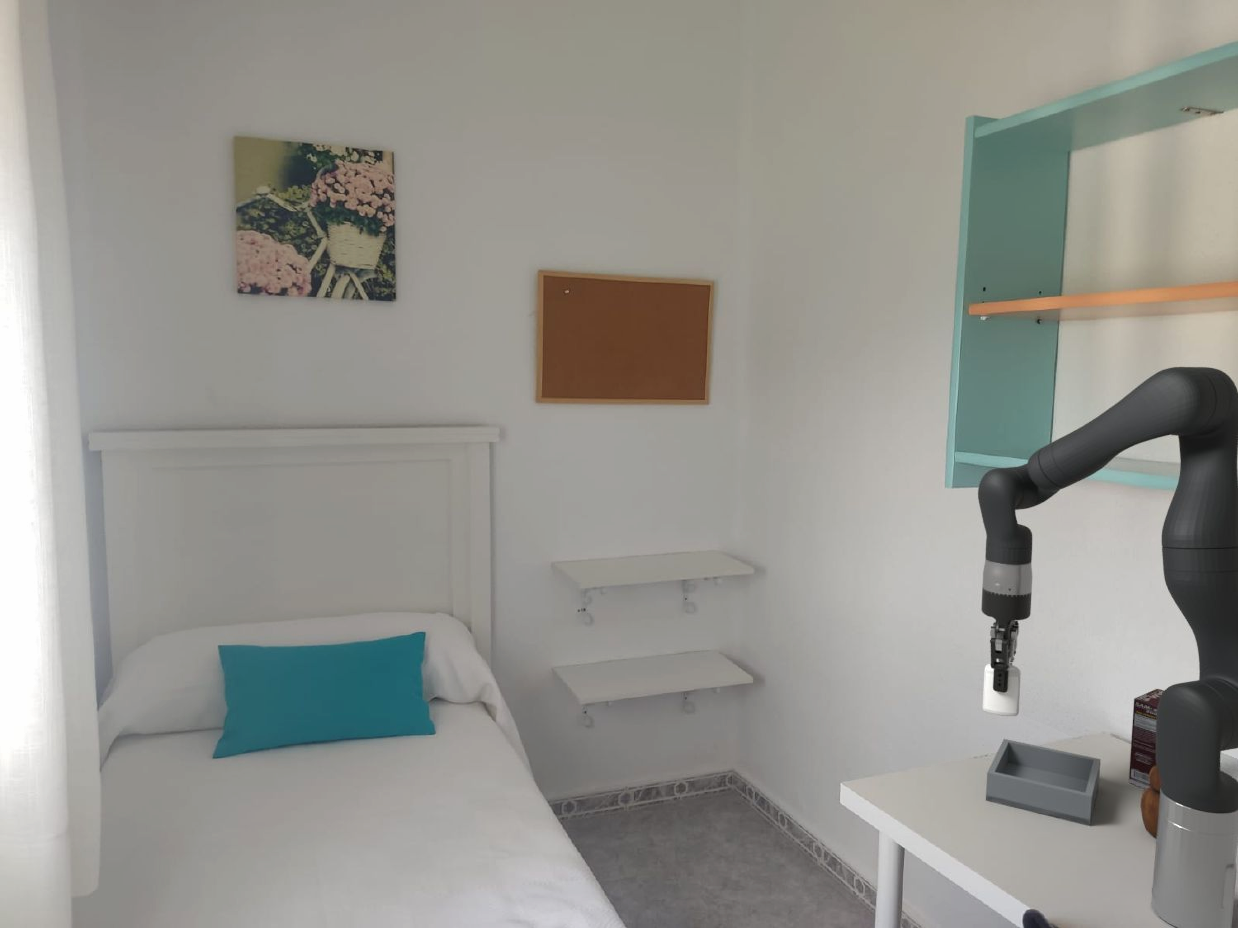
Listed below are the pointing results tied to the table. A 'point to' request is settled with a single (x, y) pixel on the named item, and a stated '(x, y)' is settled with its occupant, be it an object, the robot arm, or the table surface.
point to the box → (1044, 781)
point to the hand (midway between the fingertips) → (1002, 686)
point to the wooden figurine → (1151, 802)
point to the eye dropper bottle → (1002, 701)
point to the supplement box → (1144, 738)
